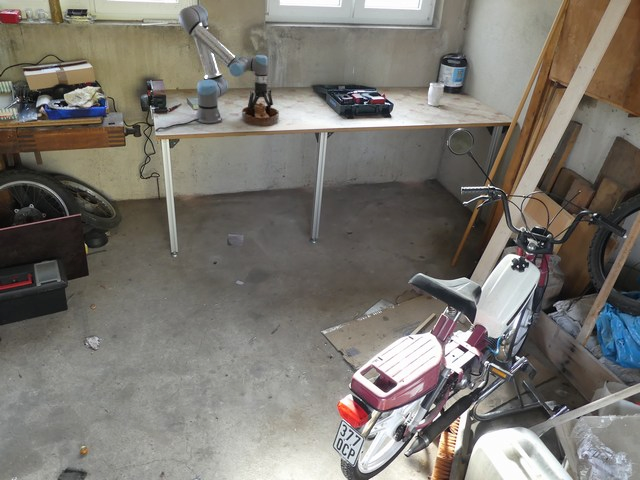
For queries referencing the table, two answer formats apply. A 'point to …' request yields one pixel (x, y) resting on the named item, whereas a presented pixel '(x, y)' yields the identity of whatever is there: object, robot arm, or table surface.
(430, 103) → the jar
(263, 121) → the brown shallow bowl
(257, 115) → the bracket
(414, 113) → the table surface
